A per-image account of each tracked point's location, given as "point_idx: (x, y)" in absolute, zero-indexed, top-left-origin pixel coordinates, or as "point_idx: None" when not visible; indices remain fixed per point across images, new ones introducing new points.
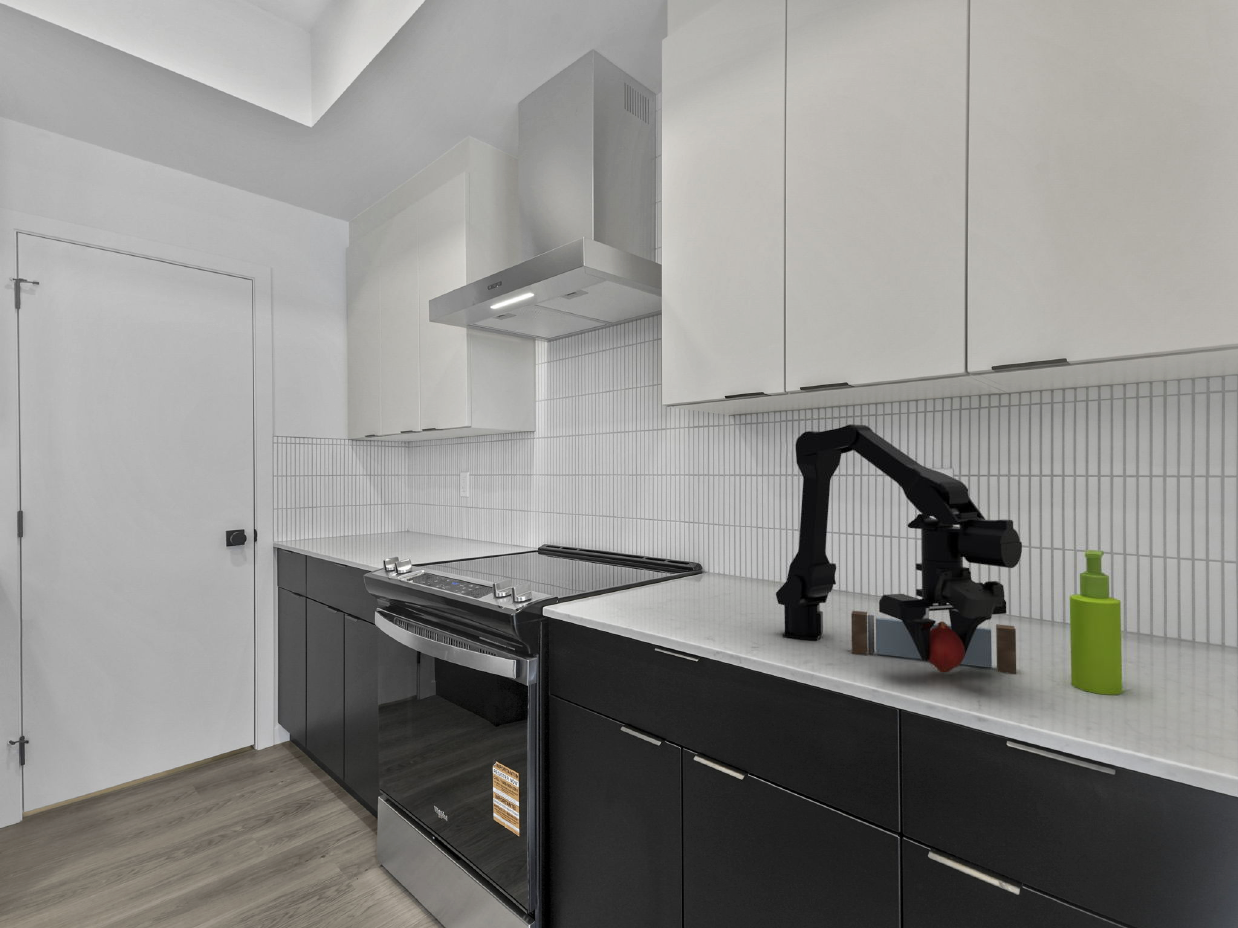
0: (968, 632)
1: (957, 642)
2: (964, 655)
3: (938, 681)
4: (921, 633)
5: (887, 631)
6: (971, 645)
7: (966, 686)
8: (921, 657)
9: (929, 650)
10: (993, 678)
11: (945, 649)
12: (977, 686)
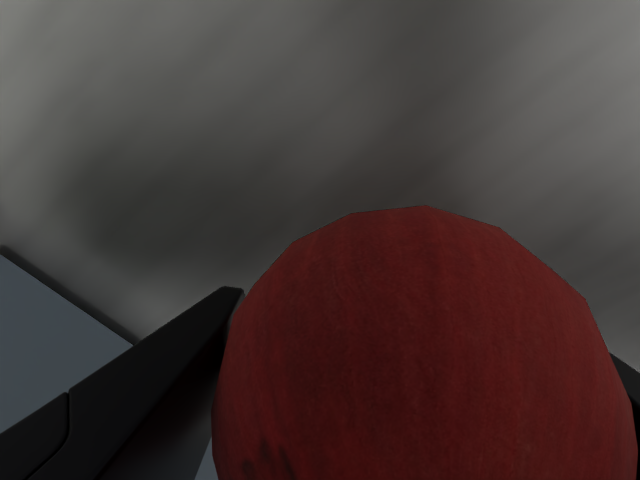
0: (73, 476)
1: (422, 347)
2: (215, 294)
3: (489, 211)
4: None
5: None
6: (4, 406)
7: (408, 70)
8: None
9: (633, 394)
10: (99, 123)
11: (579, 321)
12: (333, 40)
